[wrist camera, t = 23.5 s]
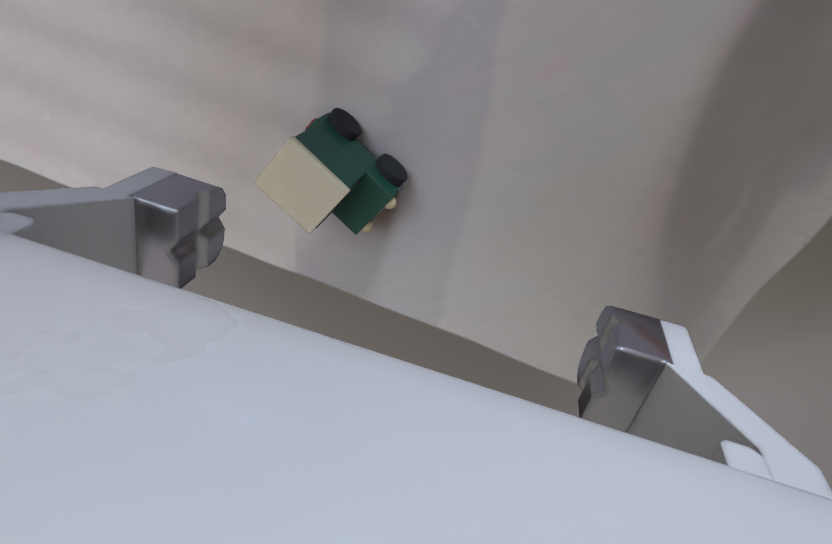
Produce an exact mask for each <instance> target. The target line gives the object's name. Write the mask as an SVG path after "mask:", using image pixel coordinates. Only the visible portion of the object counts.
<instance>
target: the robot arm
mask: <svg viewBox="0 0 832 544" xmlns="http://www.w3.org/2000/svg"><path fill="white" fill-rule="evenodd" d="M225 210H226V194H225V192H224V190H223V189H222V188H220V187H217V186H214V185H211V184H208V183H205V182H202V181H199V180H195V179H192V178H189V177H186V176H183V175H179V174H178V173H176V172H172V171H168V170H164V169H160V168H156V167H151V168H149V169H147V170H144V171H142V172H140V173H138V174H135V175H133V176H131V177H129V178H126V179H124V180H122V181H120V182H117V183H115V184H113V185H111V186H108V187H106V188H104V189H103V188H100V187H81V188H66V189H49V190H35V191H17V192H2V193H0V544H832V491H831V489H830V487H829V485H828V483H827V481H826V479H825V478H824V476H823V474H822V472H821V470H820V468H819V467H817V466H816V465H815V464H814V463H813V462H811V461H810V460H809V459H808V458H807V457H806V456H804V455H803V454H802V453H801V452H800V451H798V450H797V449H796V448H795V447H794V446H793V445H791V444H790V443H789V442H788V441H787V440H785V439H784V438H783V437H782V436H781V435H780V434H778V433H777V432H776V431H775V430H774V429H772V428H771V427H770V426H769V425H768V424H767V423H766V422H764V421H763V420H762V419H761V418H760V417H758V416H757V415H756V414H755V413H754V412H752V411H751V410H750V409H749V408H748V407H747V406H745V405H744V404H743V403H742V402H741V401H739V400H738V399H737V398H736V397H735V396H734V395H733V394H731V393H730V392H729V391H728V390H727V389H725V388H724V387H723V386H722V385H721V384H719V383H718V382H717V381H716V380H715V379H714V378H713V377H710V376H707V375H704V374H703V371H702V368H701V366H700V363H699V360H698V358H697V355H696V353H695V350H694V347H693V345H692V342H691V339H690V337H689V334H688V332H687V329H686V328H685V327H683V326H681V325H677V324H673V323H669V322H665V321H661V320H660V319H657V318H653V317H649V316H646V315H642V314H639V313H635V312H632V311H628V310H624V309H621V308H617V307H614V306H606V307H605V308H604V309H603V311H602V312H601V314H600V316H599V318H598V321H597V323H596V325H597V336H596V337H594V338H593V339H591V340H589V341H588V342H587V344H586V347H585V349H584V351H583V354H582V357H581V360H580V364H579V367H578V375H577V381H578V386H579V387H580V388H581V390H582V393H581V395H580V398H579V399H578V402H579V417H575V416H572V415H569V414H566V413H563V412H560V411H557V410H554V409H551V408H548V407H545V406H541V405H538V404H535V403H532V402H529V401H526V400H523V399H520V398H516V397H514V396H510V395H507V394H504V393H501V392H498V391H495V390H492V389H489V388H486V387H483V386H479V385H476V384H473V383H470V382H467V381H464V380H461V379H458V378H455V377H452V376H448V375H445V374H442V373H439V372H436V371H433V370H430V369H427V368H424V367H420V366H417V365H414V364H411V363H408V362H405V361H402V360H399V359H396V358H393V357H390V356H387V355H383V354H380V353H377V352H374V351H371V350H368V349H365V348H362V347H359V346H355V345H352V344H349V343H346V342H343V341H340V340H337V339H334V338H331V337H328V336H324V335H322V334H318V333H315V332H312V331H309V330H306V329H303V328H300V327H297V326H294V325H291V324H288V323H285V322H282V321H278V320H275V319H272V318H269V317H266V316H263V315H260V314H257V313H254V312H251V311H247V310H244V309H241V308H238V307H235V306H232V305H229V304H226V303H223V302H220V301H217V300H214V299H210V298H208V297H204V296H201V295H198V294H195V293H192V292H189V291H186V290H183V289H181V288H182V287H184V286H185V285H186V284H187V283H189V282H190V281H191V280H192V279H193V278H195V274H196V270H197V269H201V268H206V267H208V266H209V265H211V264H212V263H213V262H214V261H215V260H216V258H217V256H218V255H219V253H220V251H221V248H222V245H223V241H224V231H225V228H224V226H223V224H222V223H221V221H220V219H219V216H220V215H221V214H222V213H223V212H224V211H225Z"/></svg>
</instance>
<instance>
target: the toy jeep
mask: <svg viewBox="0 0 832 544" xmlns="http://www.w3.org/2000/svg"><path fill="white" fill-rule="evenodd" d="M305 130H306V131H304V132H303V133H301V134H299V135H297V136H296V137H295V136H292V137H291V138H289V140H288V141H287V142H286V143H285V145H284V146H283V147H282V148H281V150H280V151H279V152H278V153H277V155H276V156H275V157H274V158H273V160H272V161H271V162H270V163H269V165H268V166H267V167H266V168H265V170H264V171H263V172H262V173H261V175H260V176H259V177H258V178H257V180H256V181H255V182H254V184H255V185H257V186H258V187H259V188H260V189H261V190H262V191H263V192H264V193H265V194H266V195H267V196H269V197H270V198H271V199H272V200H273V201H274V202H275V203H276V204H277V205H278V206H279V207H281V208H282V209H283V210H284V211H285V212H286V213H287V214H288V215H289V216H290V217H291V218H292V219H294V220H295V221H296V222H297V223H298V224H299V225H300V226H301V227H302V228H303V229H304V230H306V231H307V232H308V233H309V234H310V233H311V232H312V231H313V230H314V229H315V228H317V227H318V226H319V225H320V224H321V223H322V222H323V221H324V220H325V219H326V218H327V217H328V216H329V215H330V214H331V213H333V214H334V215H335V216H337V217H338V218H339V219H340V220H341V221H342V222H343V223H344V224H345V225H346V226H347V227H348V228H349V229H350V230H351V231H353V232H354V233H355V234H357V233H358V232H359V231H360V230H361V231H363V232H366V233H367V232H370V231H371V230H372V227H373V225H372V222H371V221H372V220H373V219H374V218H375V217H376V216H377V215H378V214H379V213H380V212H381V211H382V210H383V209H384V208H387V209H392V208H394V207H395V205H396V199H395V197H396V196H397V195H398V194H399V193H400V192H401V191H402V190H403V187H402V184H403V183H404V182H405V181H406V179H407V173H406V171H405V169H404V168H403V166H402V165H401V164H400V163H399V162H398V161H397V160H396V159H394V158H393V157H391V156H390V155H387V154H383V155H381V156H380V157H379V158H378V160H377V159H376V158H375V157H374V156H373V155H372V154H371V153H370V152H369V151H368V150H366V149H365V148H364V147H363V146H362V145H361V144H360V143H359V142H358V141H357V140H356V138H357V137H358V136H359V135H360V134H361V128H360V126H359V124H358V123H357V121H356V120H355V119H354V118H353V117H352V116H351V115H350V114H348V113H347V112H346V111H344V110H342V109H339V108H335V109H333V111H332V112H331V113H327V114H325V115H323V116H321V117H320V118H318V119H316V118H315V119H313V120H312V121H311V123H310V124H309V125H308V126H307V128H306V129H305Z"/></svg>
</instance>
